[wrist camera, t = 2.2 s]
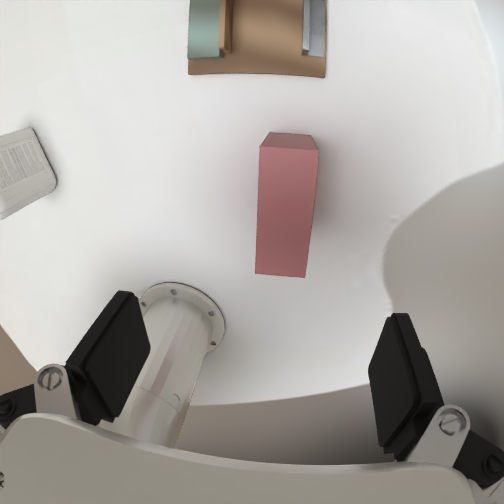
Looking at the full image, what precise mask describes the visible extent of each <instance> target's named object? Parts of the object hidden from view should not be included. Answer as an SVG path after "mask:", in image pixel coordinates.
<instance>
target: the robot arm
mask: <svg viewBox="0 0 504 504" xmlns="http://www.w3.org/2000/svg"><path fill="white" fill-rule="evenodd" d="M224 330H225V323H224V319H223V316H222V314H221V312H220V310H219V309H218V307H217V306H216V305H215V304H214V302H213V301H211V300H210V299H209V298H208V297H207V296H206V295H204V294H203V293H201V292H200V291H198V290H196V289H194V288H192V287H189V286H186V285H183V284H177V283H162V284H157V285H155V286H153V287H151V288H149V289H148V290H147V291H146V292H145V293H144V294H143V296H142V297H141V299H140V301H138V298H137V297H136V296H135V295H134V294H133V293H132V292H127V291H118V292H117V293H116V294H115V295H114V296H113V298H112V299H111V300H110V302H109V303H108V304H107V306H106V307H105V308H104V310H103V311H102V312H101V314H100V315H99V316H98V318H97V319H96V320H95V322H94V323H93V324H92V326H91V327H90V329H89V330H88V331H87V333H86V334H85V335H84V337H83V338H82V340H81V341H80V342H79V344H78V345H77V347H76V348H75V350H74V351H73V352H72V354H71V355H70V357H69V358H68V360H67V361H66V365H65V366H64V367H63V366H61V365H59V364H49V365H46V366H44V367H43V368H41V369H40V370H39V371H38V372H37V374H36V376H35V378H34V384H32V385H29V386H26V387H23V388H20V389H17V390H14V391H12V392H9V393H6V394H3V395H1V396H0V504H504V452H503V451H502V450H501V449H500V448H498V447H496V446H495V445H493V444H491V443H490V442H488V441H486V440H485V439H484V438H482V437H480V436H479V435H477V434H476V433H474V432H472V431H471V430H469V428H470V420H469V417H468V415H467V413H466V412H465V411H464V410H463V409H462V408H460V407H458V406H456V405H444V402H443V399H442V396H441V393H440V389H439V386H438V383H437V380H436V378H435V375H434V372H433V369H432V366H431V363H430V360H429V358H428V355H427V353H426V351H425V349H424V348H422V347H421V345H420V342H419V339H418V337H417V334H416V332H415V329H414V327H413V324H412V322H411V319H410V317H409V315H408V314H407V313H393V314H392V315H391V317H387V319H386V321H385V324H384V327H383V330H382V333H381V335H380V338H379V341H378V344H377V346H376V349H375V351H374V354H373V357H372V359H371V362H370V364H369V368H368V375H369V380H370V386H371V392H372V399H373V405H374V412H375V419H376V426H377V434H378V442H379V446H380V447H383V450H384V454H388V453H394V458H395V459H396V461H395V462H394V463H378V464H362V465H327V466H325V465H319V466H318V465H288V464H273V463H261V462H251V461H242V460H234V459H227V458H220V457H214V456H208V455H203V454H197V453H192V452H187V451H182V450H177V449H176V446H177V442H178V439H179V436H180V432H181V429H182V426H183V423H184V419H185V416H186V413H187V410H188V407H189V404H190V401H191V398H192V394H193V391H194V388H195V385H196V382H197V379H198V376H199V373H200V369H201V366H202V363H203V360H204V357H205V354H206V353H208V352H210V351H212V350H214V349H215V348H216V347H218V345H219V344H220V343H221V341H222V338H223V335H224Z"/></svg>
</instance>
